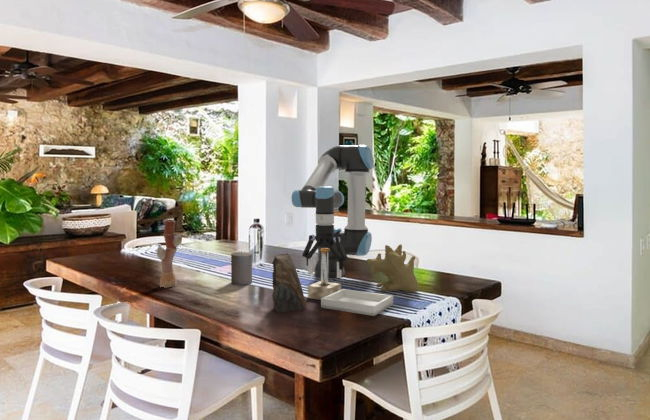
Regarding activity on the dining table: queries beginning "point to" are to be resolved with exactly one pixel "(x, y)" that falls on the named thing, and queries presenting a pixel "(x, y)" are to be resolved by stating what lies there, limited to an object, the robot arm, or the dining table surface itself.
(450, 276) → the dining table surface
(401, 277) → the decorative coral
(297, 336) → the dining table surface
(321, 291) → the pin block
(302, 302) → the brown rock
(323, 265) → the steel pin
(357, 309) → the tray
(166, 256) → the abstract sculpture
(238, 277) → the pillar candle
